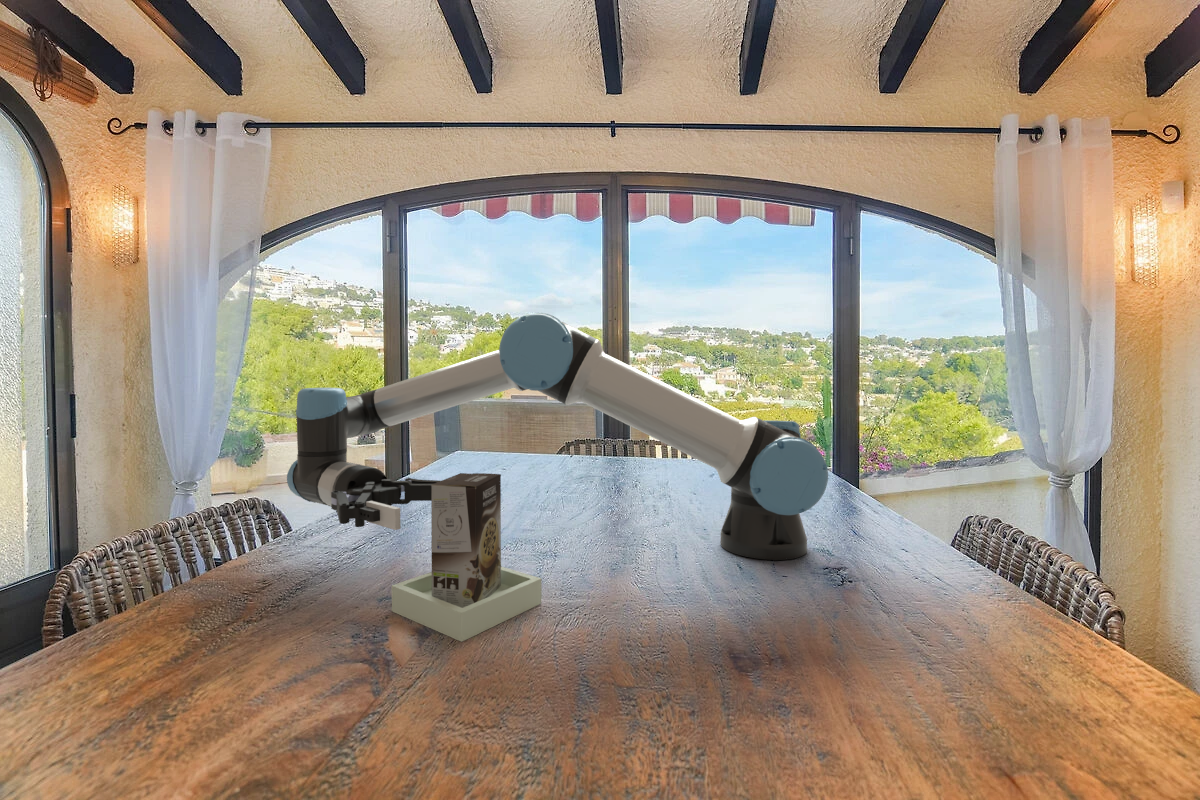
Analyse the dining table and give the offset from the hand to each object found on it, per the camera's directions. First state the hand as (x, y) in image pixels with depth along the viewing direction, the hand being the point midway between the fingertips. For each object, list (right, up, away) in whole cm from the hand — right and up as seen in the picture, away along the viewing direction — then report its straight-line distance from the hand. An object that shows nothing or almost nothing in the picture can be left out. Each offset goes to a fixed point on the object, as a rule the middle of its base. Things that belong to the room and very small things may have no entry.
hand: (441, 508), depth 80 cm
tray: (+4, -13, -1) cm, 14 cm away
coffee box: (+4, -12, -1) cm, 13 cm away
